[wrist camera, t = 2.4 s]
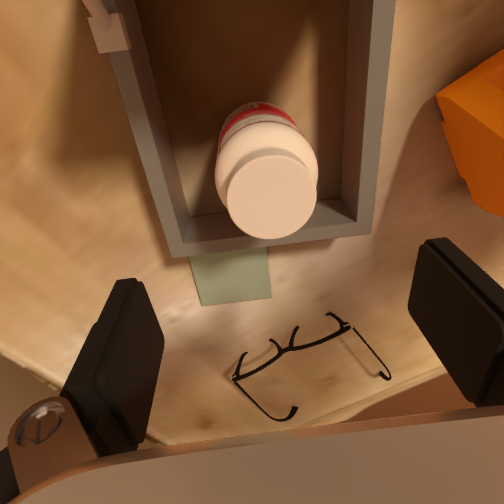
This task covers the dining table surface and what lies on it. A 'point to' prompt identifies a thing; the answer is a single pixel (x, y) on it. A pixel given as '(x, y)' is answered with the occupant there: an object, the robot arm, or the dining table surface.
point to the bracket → (478, 130)
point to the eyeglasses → (343, 328)
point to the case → (161, 154)
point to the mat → (232, 276)
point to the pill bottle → (265, 171)
